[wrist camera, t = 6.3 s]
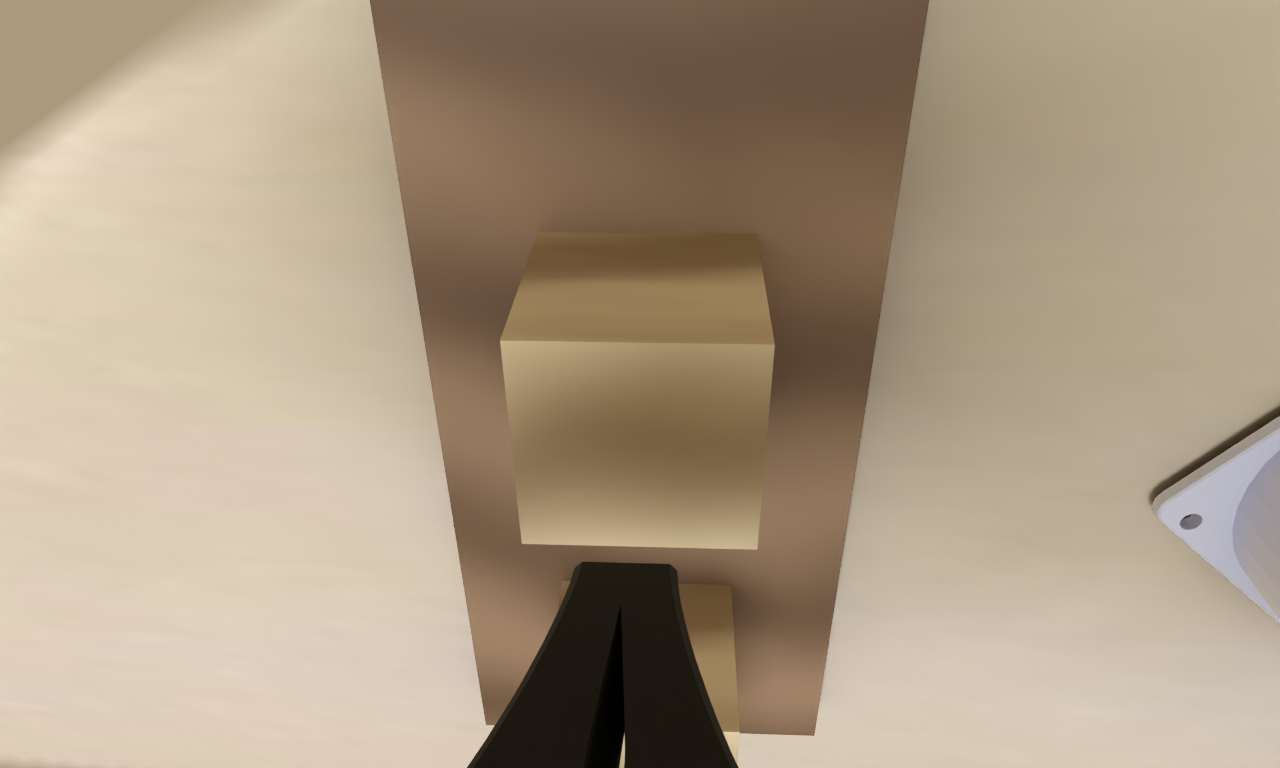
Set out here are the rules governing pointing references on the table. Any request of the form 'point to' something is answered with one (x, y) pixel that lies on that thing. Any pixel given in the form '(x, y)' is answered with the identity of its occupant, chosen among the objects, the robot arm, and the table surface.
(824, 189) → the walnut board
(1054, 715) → the table surface
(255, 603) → the table surface
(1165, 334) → the table surface
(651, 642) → the robot arm
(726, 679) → the block seven
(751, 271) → the plain block
